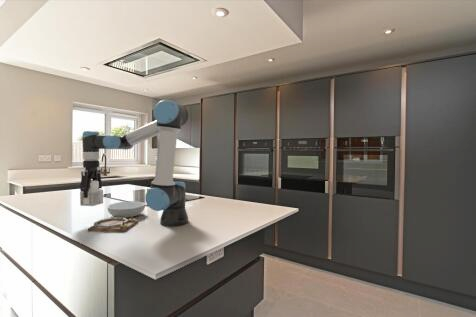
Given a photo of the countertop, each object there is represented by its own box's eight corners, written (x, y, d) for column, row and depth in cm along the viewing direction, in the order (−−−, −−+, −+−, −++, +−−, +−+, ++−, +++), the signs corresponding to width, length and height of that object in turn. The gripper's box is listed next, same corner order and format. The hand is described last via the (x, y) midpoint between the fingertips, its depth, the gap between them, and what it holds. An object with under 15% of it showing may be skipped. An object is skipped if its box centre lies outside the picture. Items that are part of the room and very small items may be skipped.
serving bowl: (99, 218, 140) (98, 206, 140) (126, 210, 160) (126, 200, 160) (127, 222, 134) (127, 210, 133) (152, 213, 153) (152, 202, 153)
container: (80, 205, 127) (79, 181, 127) (91, 202, 135) (90, 179, 134) (93, 206, 126) (92, 181, 126) (103, 203, 133) (103, 179, 133)
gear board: (138, 222, 134) (138, 215, 134) (124, 231, 118) (124, 223, 118) (105, 221, 134) (105, 214, 134) (87, 231, 118) (87, 223, 118)
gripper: (95, 159, 140) (96, 198, 141) (70, 160, 119) (71, 206, 120) (108, 159, 140) (109, 198, 141) (86, 160, 119) (86, 206, 120)
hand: (92, 202), depth 130 cm, fingers closed on container, 8 cm apart
